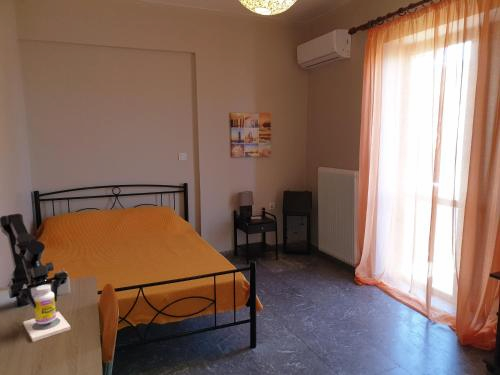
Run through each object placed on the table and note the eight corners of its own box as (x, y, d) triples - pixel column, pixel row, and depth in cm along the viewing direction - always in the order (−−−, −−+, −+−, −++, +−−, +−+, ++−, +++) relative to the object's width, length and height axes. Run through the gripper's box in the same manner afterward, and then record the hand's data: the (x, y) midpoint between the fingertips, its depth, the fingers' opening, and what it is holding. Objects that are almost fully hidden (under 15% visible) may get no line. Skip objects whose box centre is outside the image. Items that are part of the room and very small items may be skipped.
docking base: (23, 324, 136) (23, 321, 136) (58, 314, 144) (58, 310, 143) (32, 341, 124) (32, 338, 124) (70, 329, 132) (70, 325, 132)
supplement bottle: (41, 326, 129) (38, 292, 127) (32, 321, 133) (28, 288, 131) (59, 319, 134) (57, 286, 133) (50, 314, 138) (47, 282, 136)
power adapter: (56, 293, 164) (53, 267, 162) (69, 290, 167) (67, 265, 165) (57, 295, 161) (54, 269, 160) (70, 292, 164) (68, 267, 163)
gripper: (7, 263, 127) (18, 302, 120) (64, 251, 140) (77, 286, 134) (4, 278, 133) (14, 317, 127) (58, 265, 146) (71, 300, 140)
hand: (45, 304), depth 132 cm, fingers closed on supplement bottle, 6 cm apart
